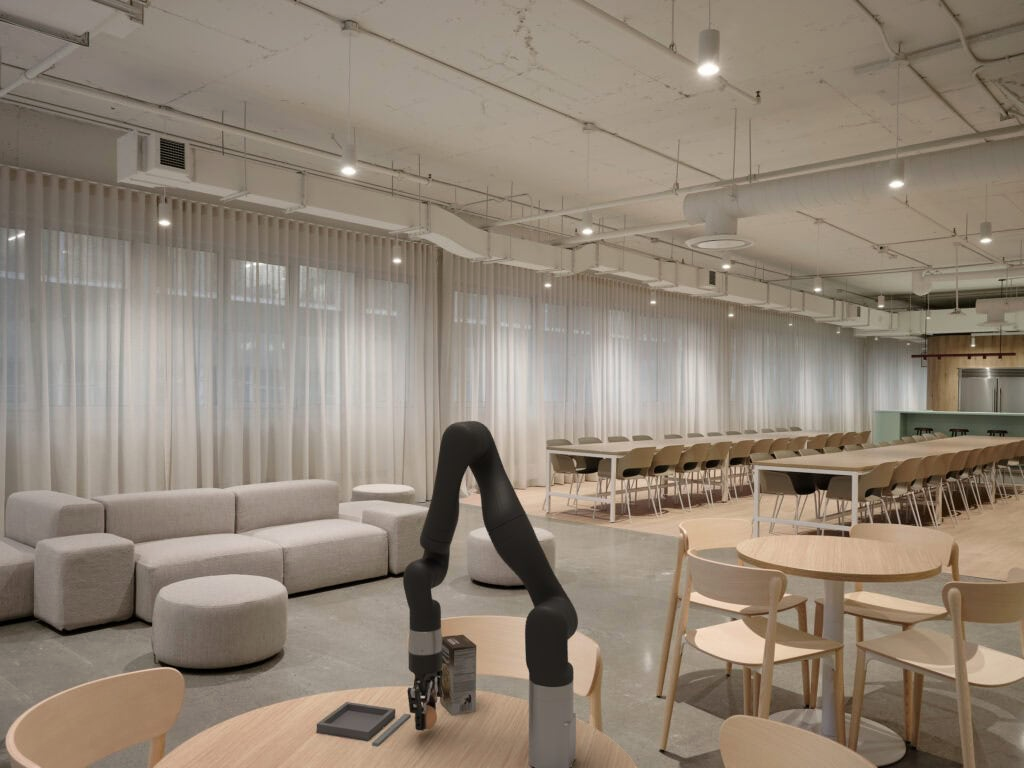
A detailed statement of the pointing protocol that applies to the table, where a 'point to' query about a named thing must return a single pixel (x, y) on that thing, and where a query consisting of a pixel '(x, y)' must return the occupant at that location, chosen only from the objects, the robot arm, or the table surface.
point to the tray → (356, 721)
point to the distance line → (391, 730)
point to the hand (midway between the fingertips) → (425, 724)
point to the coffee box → (458, 674)
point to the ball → (430, 717)
